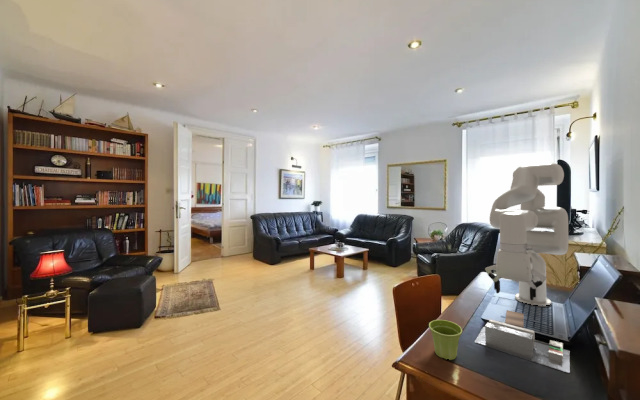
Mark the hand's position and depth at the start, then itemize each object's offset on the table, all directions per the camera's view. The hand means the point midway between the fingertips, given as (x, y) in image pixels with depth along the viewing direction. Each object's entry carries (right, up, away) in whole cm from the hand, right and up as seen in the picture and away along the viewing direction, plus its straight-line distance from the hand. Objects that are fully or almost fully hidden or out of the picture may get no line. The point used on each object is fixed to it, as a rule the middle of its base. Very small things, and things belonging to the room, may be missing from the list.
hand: (514, 295), depth 92 cm
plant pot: (-29, -15, -10) cm, 35 cm away
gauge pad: (-3, -13, -8) cm, 15 cm away
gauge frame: (-4, -14, -8) cm, 17 cm away
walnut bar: (0, -13, 0) cm, 13 cm away
